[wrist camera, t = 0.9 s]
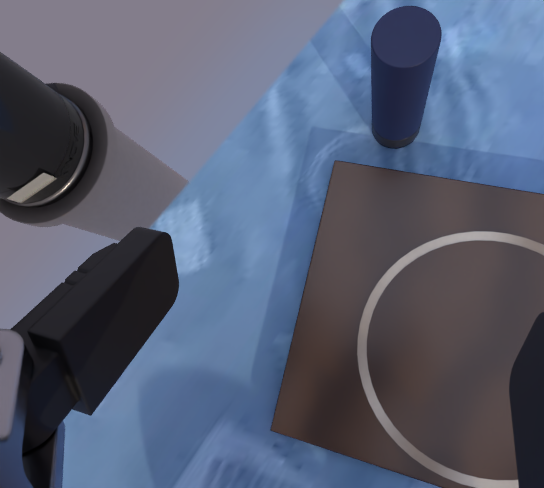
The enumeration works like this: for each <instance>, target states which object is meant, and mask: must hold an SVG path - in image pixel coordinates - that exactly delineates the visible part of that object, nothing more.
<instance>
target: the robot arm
mask: <svg viewBox="0 0 544 488" xmlns="http://www.w3.org/2000/svg"><path fill="white" fill-rule="evenodd" d="M92 150H93V135H92V129H91V126H90V123H89V120H88V118H87V117H86V115H85V113H84V112H83V111H82V110H81V109H80V107H78V106H77V105H76V104H75V103H73V102H72V101H71V100H69V99H68V98H66V97H65V96H63V95H61V94H58V93H57V92H56V91H54V90H53V89H51V88H50V87H49V86H47V85H46V84H44V83H43V82H42V81H41V80H39V79H38V78H36V77H35V76H33V75H32V74H31V73H29V72H28V71H26V70H25V69H24V68H22V67H21V66H19V65H18V64H17V63H15V62H14V61H12V60H11V59H10V58H8V57H7V56H5V55H4V54H3V53H1V52H0V198H2V199H4V200H5V201H8V202H10V203H13V204H16V205H19V206H23V207H28V208H39V207H44V206H48V205H51V204H53V203H55V202H57V201H59V200H61V199H62V198H64V197H65V196H66V195H68V194H69V193H70V192H71V191H72V190H73V189H74V188H75V187H76V186H77V184H78V183H79V182H80V180H81V179H82V177H83V176H84V174H85V172H86V170H87V168H88V165H89V163H90V159H91V155H92ZM178 289H179V279H178V273H177V267H176V262H175V256H174V250H173V244H172V239H171V236H170V235H169V234H168V233H166V232H161V231H156V230H152V229H147V228H142V227H136V228H134V229H133V230H132V231H131V232H130V233H128V234H127V235H126V236H125V237H124V238H123V239H122V240H121V241H120V242H119V243H118V244H117V243H113V244H111V245H109V246H107V247H105V248H103V249H101V250H99V251H98V252H96V253H94V254H92V255H91V256H90V257H89V258H88V259H87V260H86V261H85V262H84V263H83V264H82V265H80V266H79V267H78V270H77V271H74V272H73V273H72V274H71V275H69V276H68V277H67V278H66V279H65V282H64V283H61V284H60V285H59V286H57V287H56V288H55V289H54V290H53V291H52V292H51V293H50V294H49V295H48V296H47V297H46V298H45V299H43V300H42V301H41V302H40V303H39V304H38V305H37V306H36V307H35V308H33V310H31V311H30V312H29V313H28V314H27V315H26V316H25V317H24V318H23V319H22V320H20V321H19V322H18V323H17V324H16V325H15V326H14V327H13V328H11V329H10V330H9V329H0V488H62V481H63V460H64V440H65V425H64V421H63V420H64V418H65V417H66V416H67V415H68V413H69V412H70V411H71V409H73V410H76V411H79V412H82V413H85V414H88V415H90V416H91V415H92V414H93V412H94V411H95V410H96V408H97V407H98V406H99V404H100V403H101V402H102V400H103V399H104V398H105V396H106V395H107V393H108V392H109V391H110V389H111V388H112V387H113V385H114V384H115V383H116V381H117V380H118V379H119V377H120V376H121V375H122V373H123V372H124V371H125V369H126V368H127V366H128V365H129V364H130V362H131V361H132V360H133V358H134V357H135V356H136V354H137V353H138V352H139V350H140V349H141V348H142V346H143V345H144V344H145V342H146V341H147V339H148V338H149V337H150V335H151V334H152V333H153V331H154V330H155V329H156V327H157V326H158V325H159V323H160V322H161V321H162V319H163V318H164V317H165V315H166V314H167V312H168V311H169V310H170V308H171V307H172V306H173V304H174V302H175V300H176V297H177V294H178ZM509 397H510V407H511V416H512V426H513V435H514V445H515V455H516V464H517V474H518V484H519V488H544V312H542V313H540V314H539V315H538V316H537V318H536V320H535V322H534V324H533V326H532V328H531V330H530V332H529V334H528V336H527V338H526V340H525V342H524V344H523V346H522V348H521V350H520V352H519V354H518V356H517V358H516V360H515V362H514V364H513V367H512V370H511V375H510V382H509Z"/></svg>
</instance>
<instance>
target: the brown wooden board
mask: <svg viewBox="0 0 544 488" xmlns="http://www.w3.org/2000/svg"><path fill="white" fill-rule="evenodd" d="M542 312H544V194H540V193H533V192H527V191H521V190H515V189H509V188H503V187H496V186H490V185H484V184H478V183H472V182H466V181H460V180H453V179H447V178H441V177H435V176H429V175H423V174H416V173H410V172H404V171H398V170H392V169H386V168H380V167H373V166H367V165H361V164H355V163H349V162H343V161H336V160H335V162H334V166H333V170H332V174H331V178H330V182H329V187H328V191H327V195H326V199H325V203H324V208H323V212H322V216H321V220H320V224H319V229H318V233H317V237H316V241H315V245H314V250H313V254H312V258H311V262H310V266H309V271H308V275H307V279H306V283H305V287H304V292H303V296H302V300H301V304H300V308H299V313H298V317H297V321H296V325H295V329H294V334H293V338H292V342H291V346H290V350H289V355H288V359H287V363H286V367H285V371H284V376H283V380H282V384H281V388H280V392H279V397H278V401H277V405H276V409H275V413H274V418H273V422H272V426H271V431H274V432H277V433H280V434H283V435H286V436H289V437H292V438H295V439H298V440H301V441H304V442H307V443H310V444H313V445H316V446H319V447H322V448H325V449H328V450H331V451H334V452H337V453H340V454H343V455H346V456H349V457H352V458H355V459H358V460H361V461H364V462H367V463H370V464H373V465H376V466H379V467H382V468H385V469H388V470H391V471H394V472H397V473H400V474H403V475H406V476H409V477H412V478H415V479H418V480H421V481H424V482H427V483H430V484H433V485H436V486H439V487H442V488H519V484H518V474H517V464H516V455H515V445H514V435H513V426H512V416H511V407H510V397H509V382H510V375H511V370H512V367H513V364H514V362H515V360H516V358H517V356H518V354H519V352H520V350H521V348H522V346H523V344H524V342H525V340H526V338H527V336H528V334H529V332H530V330H531V328H532V326H533V324H534V322H535V320H536V318H537V316H538V315H539V314H540V313H542Z"/></svg>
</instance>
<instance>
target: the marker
mask: <svg viewBox="0 0 544 488" xmlns="http://www.w3.org/2000/svg"><path fill="white" fill-rule="evenodd" d="M440 42H441V27H440V24H439V22H438V20H437V19H436V17H435V16H434V15H433V14H432V13H430V12H429V11H427V10H426V9H423V8H421V7H416V6H403V7H399V8H396V9H393V10H391V11H389V12H388V13H386V14H385V15H384V16H383V17H382V18H381V19H380V20H379V21H378V22H377V24H376V25H375V27H374V29H373V32H372V36H371V84H372V132H373V135H374V137H375V139H376V140H377V141H378V142H379V143H380V144H382V145H383V146H386V147H389V148H400V147H404V146H406V145H408V144H410V143H411V142H412V141H413V140H414V139H415V138H416V136H417V135H418V133H419V129H420V125H421V121H422V117H423V113H424V108H425V104H426V100H427V96H428V92H429V88H430V83H431V79H432V75H433V71H434V67H435V62H436V58H437V54H438V50H439V46H440Z"/></svg>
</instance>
